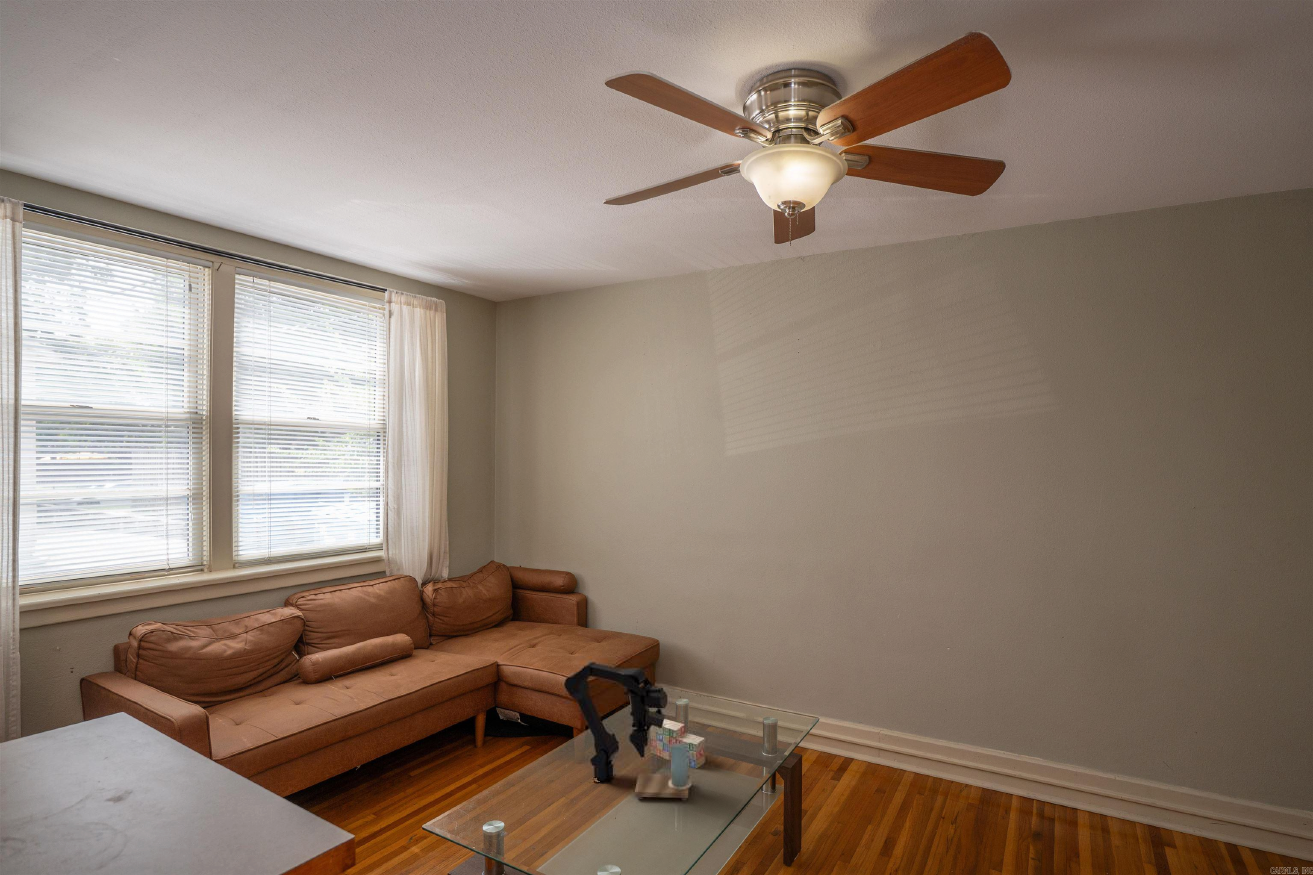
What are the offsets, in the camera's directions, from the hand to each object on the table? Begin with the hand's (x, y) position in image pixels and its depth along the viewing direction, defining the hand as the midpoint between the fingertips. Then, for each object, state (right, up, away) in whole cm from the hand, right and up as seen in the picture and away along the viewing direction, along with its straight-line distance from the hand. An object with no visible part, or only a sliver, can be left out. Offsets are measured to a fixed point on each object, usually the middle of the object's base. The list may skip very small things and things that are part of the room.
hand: (644, 751), depth 243 cm
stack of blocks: (+12, -13, +22) cm, 28 cm away
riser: (+6, -13, -2) cm, 15 cm away
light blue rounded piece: (+12, -10, -3) cm, 16 cm away
